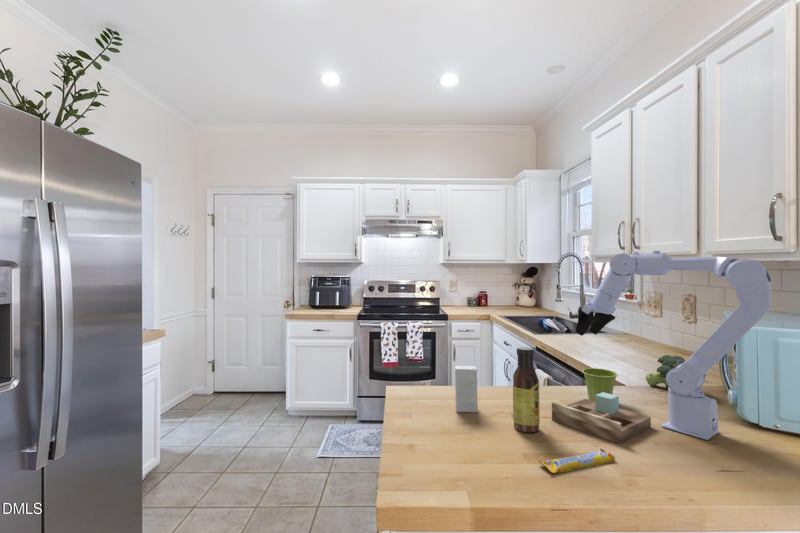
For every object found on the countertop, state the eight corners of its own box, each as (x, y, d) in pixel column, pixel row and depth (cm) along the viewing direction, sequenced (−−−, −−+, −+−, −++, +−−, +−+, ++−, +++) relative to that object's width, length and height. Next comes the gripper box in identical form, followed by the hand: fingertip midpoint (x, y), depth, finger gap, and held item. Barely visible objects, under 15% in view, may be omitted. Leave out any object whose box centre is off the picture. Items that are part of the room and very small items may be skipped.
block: (618, 411, 100) (618, 396, 100) (610, 414, 98) (610, 399, 98) (603, 407, 103) (603, 392, 103) (595, 410, 101) (595, 394, 101)
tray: (650, 427, 96) (650, 409, 96) (619, 443, 87) (619, 423, 87) (585, 407, 110) (585, 391, 110) (551, 420, 101) (551, 402, 101)
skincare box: (476, 407, 111) (475, 365, 111) (477, 412, 106) (477, 369, 106) (454, 406, 111) (454, 365, 111) (455, 412, 107) (455, 369, 107)
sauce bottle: (541, 435, 92) (541, 351, 92) (514, 432, 93) (513, 350, 93) (537, 424, 98) (536, 346, 98) (512, 422, 100) (511, 345, 100)
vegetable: (660, 374, 137) (705, 363, 125) (661, 407, 129) (709, 399, 117) (635, 356, 135) (678, 343, 123) (635, 388, 127) (681, 377, 115)
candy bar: (602, 454, 83) (601, 446, 83) (618, 464, 79) (618, 454, 79) (536, 467, 78) (536, 458, 78) (551, 478, 74) (551, 468, 74)
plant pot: (624, 406, 111) (624, 376, 111) (591, 406, 111) (591, 376, 111) (607, 396, 120) (607, 368, 120) (577, 395, 120) (577, 368, 121)
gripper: (608, 286, 116) (587, 324, 120) (582, 285, 107) (561, 326, 112) (630, 298, 111) (607, 338, 115) (605, 298, 102) (581, 340, 107)
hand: (586, 333), depth 113 cm, fingers open, 7 cm apart
